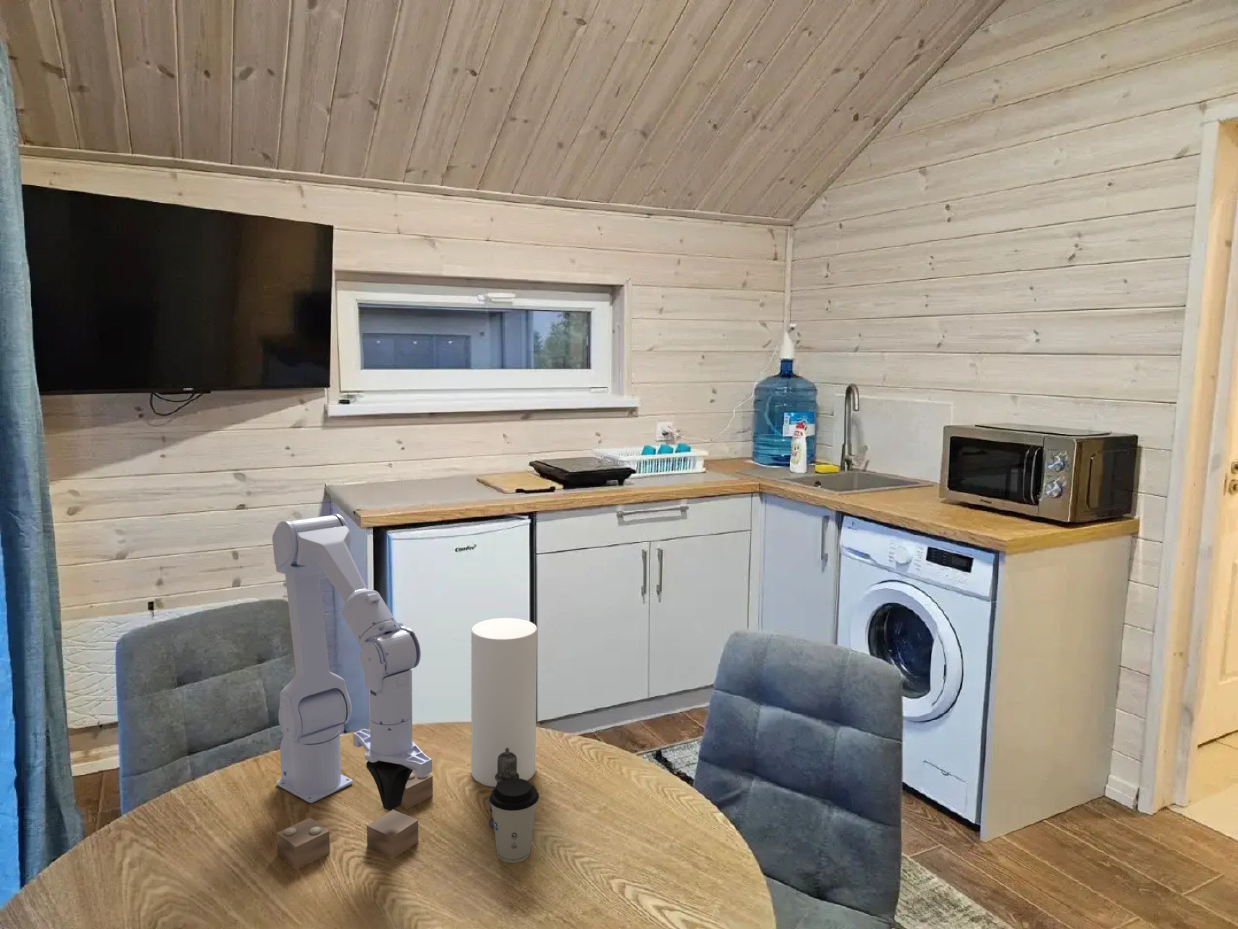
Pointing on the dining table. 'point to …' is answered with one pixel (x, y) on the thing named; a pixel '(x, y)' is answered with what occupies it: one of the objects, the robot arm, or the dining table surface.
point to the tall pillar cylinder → (503, 696)
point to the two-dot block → (303, 843)
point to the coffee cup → (513, 818)
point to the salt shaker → (504, 772)
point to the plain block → (392, 834)
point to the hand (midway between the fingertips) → (392, 806)
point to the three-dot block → (417, 789)
